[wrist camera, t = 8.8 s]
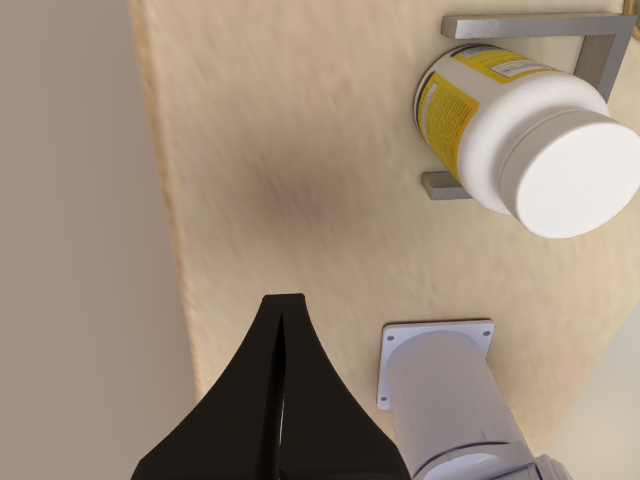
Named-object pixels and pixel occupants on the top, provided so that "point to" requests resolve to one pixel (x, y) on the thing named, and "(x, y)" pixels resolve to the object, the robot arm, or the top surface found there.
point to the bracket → (596, 55)
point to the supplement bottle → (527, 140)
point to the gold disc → (636, 3)
